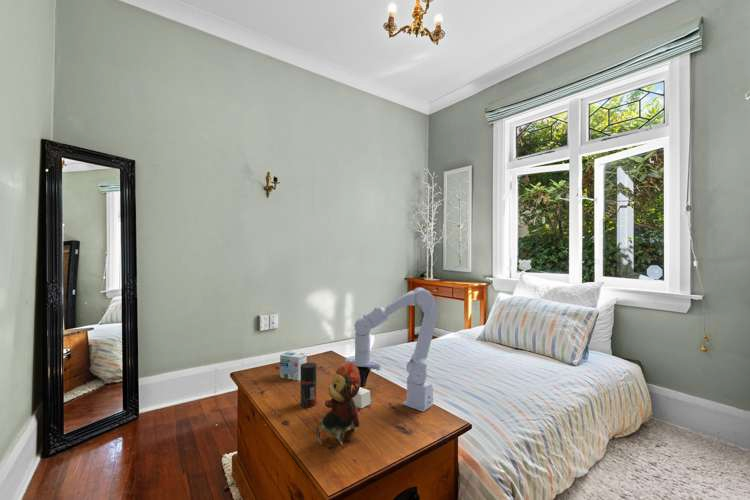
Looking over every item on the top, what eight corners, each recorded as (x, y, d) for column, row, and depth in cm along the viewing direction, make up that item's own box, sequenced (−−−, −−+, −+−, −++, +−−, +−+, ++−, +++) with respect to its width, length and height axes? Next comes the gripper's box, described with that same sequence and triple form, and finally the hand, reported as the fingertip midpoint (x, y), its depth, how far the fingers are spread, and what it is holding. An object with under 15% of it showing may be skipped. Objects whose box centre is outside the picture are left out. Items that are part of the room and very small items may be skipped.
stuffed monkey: (342, 415, 118) (355, 348, 114) (372, 448, 106) (387, 374, 102) (303, 427, 109) (315, 355, 105) (330, 465, 96) (345, 385, 92)
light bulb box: (279, 378, 158) (279, 354, 158) (288, 373, 164) (288, 350, 164) (298, 381, 154) (298, 357, 154) (307, 376, 160) (307, 353, 160)
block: (370, 390, 130) (352, 384, 136) (361, 394, 126) (344, 388, 132) (370, 403, 130) (353, 397, 136) (361, 408, 126) (344, 401, 132)
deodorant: (309, 409, 126) (308, 368, 127) (297, 405, 130) (297, 366, 130) (319, 403, 132) (319, 364, 132) (308, 399, 135) (308, 361, 135)
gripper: (384, 349, 129) (384, 385, 129) (351, 345, 136) (351, 379, 136) (376, 355, 123) (376, 392, 123) (341, 350, 129) (342, 385, 129)
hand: (362, 386), depth 129 cm, fingers closed
